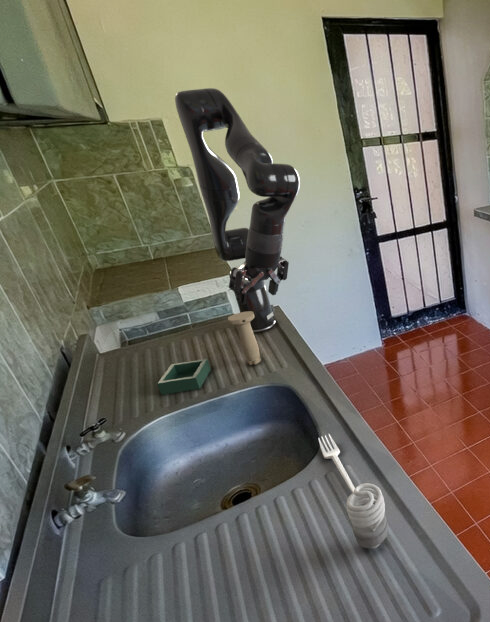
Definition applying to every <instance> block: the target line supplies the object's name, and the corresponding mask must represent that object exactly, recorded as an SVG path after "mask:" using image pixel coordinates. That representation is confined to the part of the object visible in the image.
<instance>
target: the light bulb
mask: <svg viewBox="0 0 490 622" xmlns="http://www.w3.org/2000/svg"><path fill="white" fill-rule="evenodd" d="M355 496H356V497H355ZM384 498H385V497H384V496H383V493H382V490H381V488H379V486H378V485H375V484H373V483H368V482H366V483H361V484H358V485H357V486H356V487H355V489H354V493H352V492H351V494H350V495H349V496H348V498H347V500H346V511H347V514H348V519H349V520H350V522H351V524H352V532H353V535H354V539H355V541H356V543H357V544H358V545H359V547H362V548H364V549H376V548H377V547H379V546H380V545H381V544H382V543H383V542H384V541H385V539H387V536H388V530H389V529H388V519H387V516H386V511H385V508H386V505H385V499H384Z"/></svg>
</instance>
